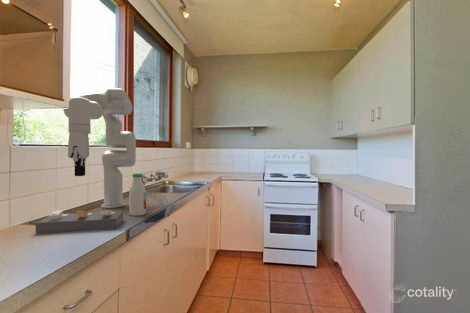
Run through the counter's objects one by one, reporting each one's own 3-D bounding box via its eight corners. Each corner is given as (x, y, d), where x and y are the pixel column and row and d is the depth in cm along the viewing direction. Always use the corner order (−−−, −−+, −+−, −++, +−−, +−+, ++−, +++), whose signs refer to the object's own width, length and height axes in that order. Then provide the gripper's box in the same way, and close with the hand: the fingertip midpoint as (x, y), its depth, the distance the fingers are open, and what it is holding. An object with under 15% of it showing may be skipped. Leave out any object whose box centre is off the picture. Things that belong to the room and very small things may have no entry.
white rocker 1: (54, 213, 105) (54, 210, 105) (63, 213, 106) (62, 209, 106) (49, 219, 101) (48, 215, 100) (58, 219, 101) (57, 215, 101)
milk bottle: (140, 216, 124) (140, 174, 123) (125, 215, 125) (125, 174, 125) (149, 212, 131) (148, 173, 131) (135, 212, 133) (135, 173, 133)
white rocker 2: (103, 214, 110) (103, 210, 110) (111, 213, 110) (111, 209, 110) (100, 214, 105) (100, 210, 105) (108, 213, 105) (108, 209, 106)
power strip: (52, 223, 111) (52, 213, 111) (123, 219, 117) (123, 210, 117) (35, 233, 97) (35, 222, 97) (116, 228, 104) (116, 218, 104)
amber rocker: (79, 215, 107) (79, 211, 108) (87, 214, 108) (87, 210, 108) (75, 215, 103) (75, 211, 103) (83, 215, 103) (84, 210, 104)
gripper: (76, 130, 110) (76, 174, 110) (61, 127, 95) (61, 177, 95) (95, 131, 112) (95, 174, 112) (83, 128, 97) (84, 177, 97)
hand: (80, 175), depth 104 cm, fingers closed
